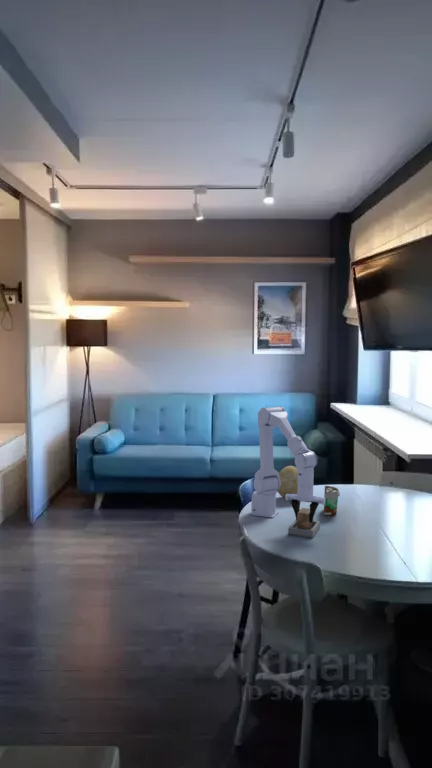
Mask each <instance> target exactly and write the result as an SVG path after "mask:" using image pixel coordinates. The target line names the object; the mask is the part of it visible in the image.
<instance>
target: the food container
mask: <svg viewBox="0 0 432 768" xmlns="http://www.w3.org/2000/svg"><path fill="white" fill-rule="evenodd" d="M323 493H324V494H323V495H324V496H323V498H325V504H324V505H323V517H325V516H326V517H328V516H329V517H335V516H336V515H337V511H338V502H339V497H340V496H341V494H340V490H339V489H338V487H335V486H331V485H324V492H323ZM329 517H328V518H329Z"/></svg>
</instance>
